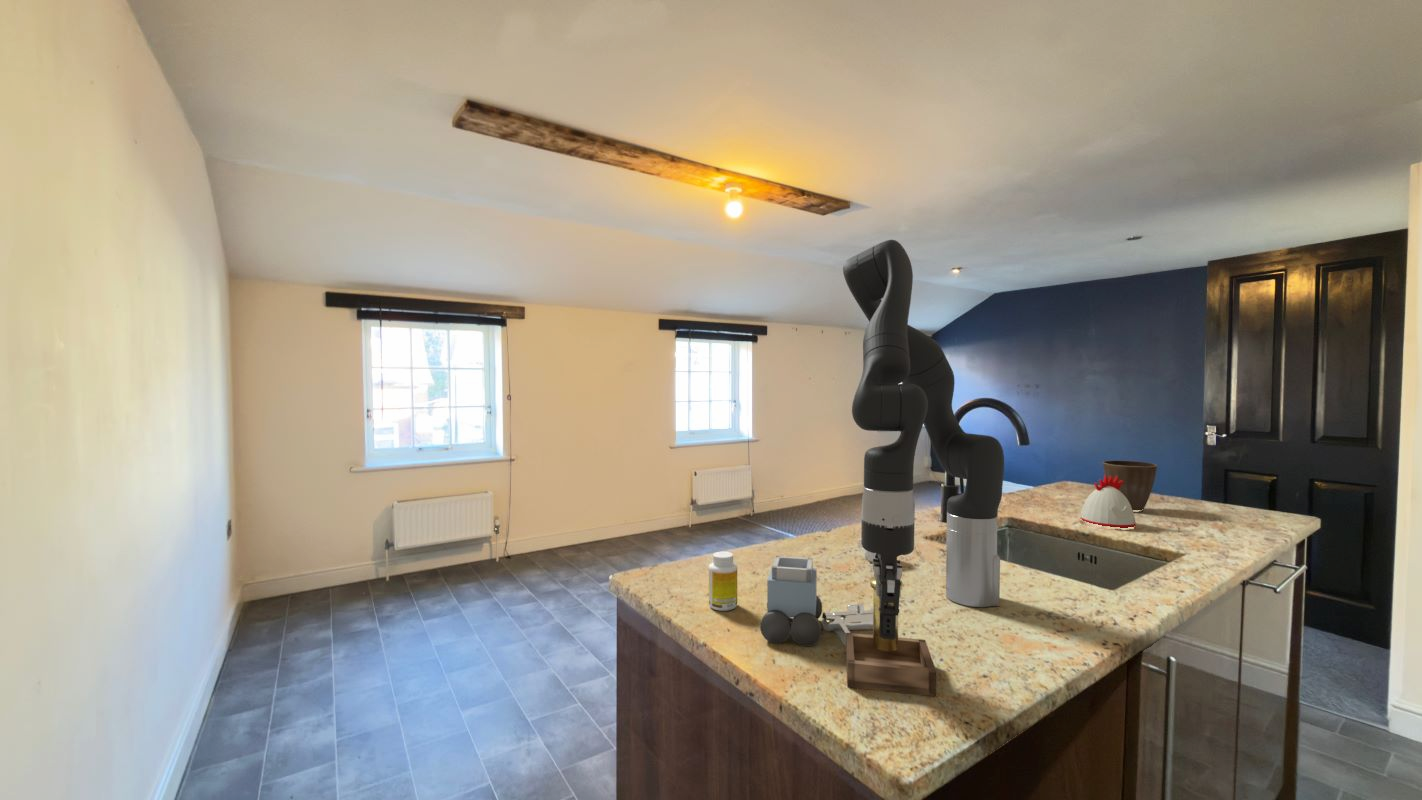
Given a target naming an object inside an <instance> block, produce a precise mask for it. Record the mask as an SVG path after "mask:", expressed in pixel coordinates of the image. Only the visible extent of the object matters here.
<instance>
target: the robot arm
mask: <svg viewBox="0 0 1422 800" xmlns="http://www.w3.org/2000/svg"><path fill="white" fill-rule="evenodd" d="M842 266H843V267H842V272H843V278H844V279H845V283H846V284H847V287H848V290H849V291H850V292H851V295H852V297H853V298H854V300H855V301H856V303H857V305H858V306H859V308H860V310H861V311H862V312H863V314H864V315H865V318H867V321H868V324H867V326H866V329H865V331H864V335H863V340H862V356H863V357H862V362H863V363H862V364H863V365H862V374H861V378H860V380H859V383H858V387H857V389H856V391H855V394H854V398H853V400H852V404H851V414H852V419H853V420H854V422H855V424H856V425H857V426H858V427H859V428H860V429H861V430H864V431H869V432H872V431H873V432H900V434H899V437H898V438H897V439H896V440H895V441H894V442H892V443H889V444H886V445H881V446H874V447H870V448H869V449H867V450H866V451H865V453H864V458H863V460H864V461H863V491H862V496H861V497H862V498H861V530H860V531H861V538H860V539H861V541H860V545H861V546H862V547H863V548H864V549H865V550H867V551H869V552H871V553H876V555H875V558H876V559H874V558H873V563H872V570H873V577H874V578H876V595H877V596H878V597H879V607H878V611H879V613H880V624H879V634H880V637H881V638H882V639H891V640H893V639H895V636H896V615H898V616H899V614H900V598H901V595H902V592H901V591H902V590H901V582H900V580H901V579H902V578H903V565H901V560H900V559H898V557H901V556H906V555H909V554H912V553H913V552H914V549H915V518H916V517H915V516H916V515H915V513H916V512H915V511H916V510H915V497H914V468H915V467H914V463H915V457H916V449H917V444H918V441H919V439H920V435H921V432H922V429H923V426H924V428H925V430H926V432H927V435H928V439H929V440H930V443H931V445H932V449H933V451H934V453H935V454H934V455H935V456H936V459H937V461H938V463H939V465H940V466H941V468H942V469H943V471H945V473H946V474H948V476H949V475H950V476H951V477H954V478H957V479H963V480H966V482H965V484H966V485H965V487H964V489H965V490H964V492H962V493H961V494H958V495H957V494H956V495H952V496H950V497H949V498H948V499H947V501H946V547H945V548H946V553H945V554H946V556H945V559H946V561H945V563H946V565H945V567H946V568H945V597H946V598H947V599H948V600H950V601H952V602H954V603H956V604H959V605H962V606H966V607H973V608H988V607H992V606H996V607H997V606H999V607H1000V598H1001V597H1000V593H1001V592H1000V589H1001V587H1000V585H1001V583H1000V582H1001V580H1000V579H1001V557H1000V555H998V509H999V507H1000V505H1001V501H1002V496H1003V485H1004V484H1003V483H1004V471H1005V470H1004V469H1005V454H1004V449H1003V447H1002V445H1001V442H1000V441H999V440H998V439H997V438H995V437H994V436H990V435H985V434H977V433H968V432H965V431H964V429H962V426H961V425H960V424H959V422H958V419H957V417H956V416H955V413H954V410H953V398H954V392H955V374H954V371H953V369H952V366H951V364H950V363H949V361H948V360H949V359H947V357H946V354H945V352H944V350H943V348H942V347H941V346H940V344H939V343H938V342H937V341H936V340H935V339H933V338H932V337H930V336H929V335H927V334H926V333H924V332H923V331H920V330H919V329H917V328H915V327H914V326H911V325H909V324H908V323H909V322H908V321H909V315H910V309H911V308H910V307H911V300H912V291H913V282H914V281H913V279H914V278H913V277H914V275H913V266H912V263H911V260H910V257H909V255H908V252H907V251H906V249H905V248H904V247H903V245H902V244H901V243H900V242H899V241H897V240H896V239H895V240H894V239H889V240H884V241H882V242H879V243H878V244H876V245H874V246H871V247H869V248H867V249H866V250H863V251H861V252H859V253H858V254H855V255H853V256H852V257H850V258H848V259H846V260H845V261H844V263H843V265H842ZM880 585H881V590H880ZM886 602H889V603H893V606H892V605H884V604H885V603H886Z"/></svg>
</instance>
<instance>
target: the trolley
mask: <svg viewBox="0 0 1422 800" xmlns="http://www.w3.org/2000/svg"><path fill="white" fill-rule="evenodd" d="M813 560H814V559H813V558H812V557H800V556H799V557H797V556H784V555H783V556H782V555H781V556H780V555H776V556H775V557H774V561H773V563H772V566H771V569H770V571H769V574H768V577H767V585H766V586H767V588H766V589H767V590H766V591H767V596H766V597H767V599H766V600H767V601H766V608H767V610H766V613H765V614H764V615H763V617H762V618H761V622H760V626H759V628H760V633H761V635H762V637H763V638H764V639H765V640H766V641H768V642H769V643H771V644H782V643H783V642H785V641H787V639H789V637H790V635H791V638H792V639H793V641H794V642H795V644H798V645H800V646H803V647H811V646H812V647H813V646H814V645H815V644H817V643H818V642H819V640H820V638H821V634H822V624H821V622H820V620H819V618H821V615H822V614H823V602H822V599H821V598H820V597H819V596H818V593H817V584H818V583H817V578H818V577H817V576H818V575H817V574H818V573H817V572H818V570H817V568H814V567H813V565H814V564H813V562H814V561H813ZM790 618H792V619H790Z"/></svg>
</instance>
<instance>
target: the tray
mask: <svg viewBox="0 0 1422 800" xmlns="http://www.w3.org/2000/svg"><path fill="white" fill-rule="evenodd" d="M845 660H846V661H845V663H846V683H847V685H846V686H847V688H855V689H861V690H863V689H865V690H872V691H881V692H888V693H889V692H891V693H899V694H908V695H917V694H921V695H920V696H926V695H930V696H929V697H935V696H936V697H937V669H936V667H935V664H934V661H933V658H932V654H931V652H930V650H929V647H928V643H927V641H926V639H921V638H920V639H919V638H908V637H899V636H898V649H897V650H895V651H882V650H879V649H877V648H875V647H874V646H873V634H865V633H853V632H850V633H846V646H845Z"/></svg>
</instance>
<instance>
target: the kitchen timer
mask: <svg viewBox="0 0 1422 800" xmlns="http://www.w3.org/2000/svg"><path fill="white" fill-rule="evenodd" d="M1098 483H1099V485H1098ZM1098 483H1096V482H1094V487H1095V489H1094V490H1093V491H1092V492H1091V493H1090V494H1089V495H1088V496H1087V497H1086V499H1085V501H1084V503H1083V505H1082V508H1081V511H1080V519H1082V520H1083V521H1086V522H1089V523H1093V524H1098V525H1102V526H1110V527H1120V528H1128V527H1134V526H1136V525H1137V524H1136V518H1135V514H1134V513H1135V512H1133V510H1132V508H1131V505H1130V503H1129V501H1128V500H1127V498H1126V497H1125V496H1124V495H1123V494H1122V493H1121V492H1120V491H1119V489H1120V487H1121V485H1122V483H1123V481H1122V480H1121V481H1120V482H1119V483H1118V477H1117V476H1116V477H1115V479H1114V482H1113V478H1112V476H1109V481H1108V478H1107V476H1105V475H1104V476H1103V480H1102V479H1098ZM1080 519H1079V520H1080ZM1136 527H1137V526H1136Z"/></svg>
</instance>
